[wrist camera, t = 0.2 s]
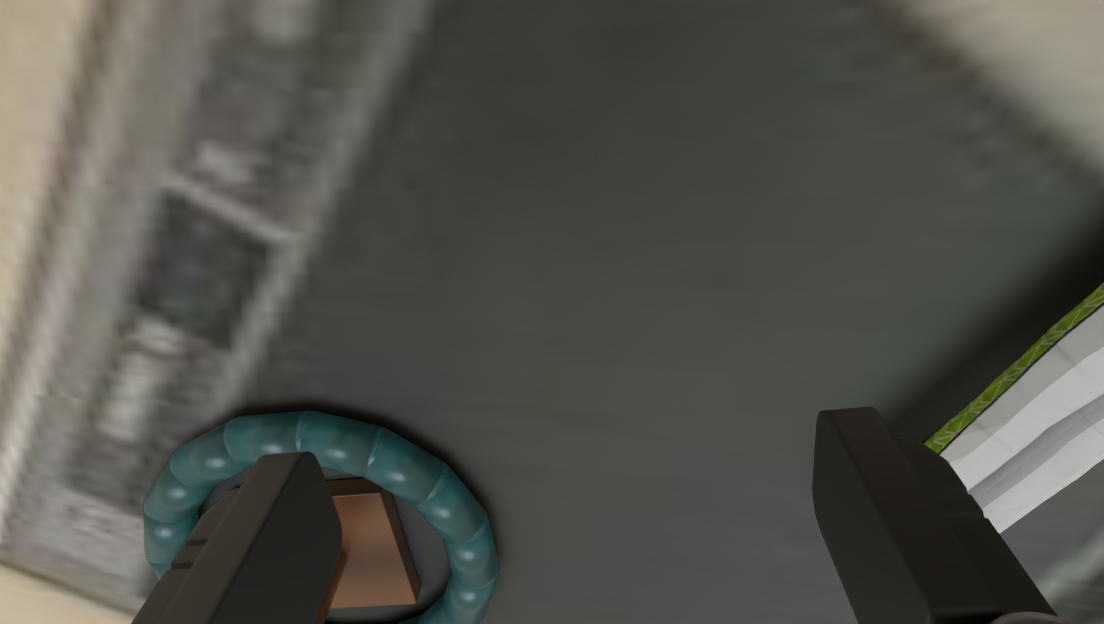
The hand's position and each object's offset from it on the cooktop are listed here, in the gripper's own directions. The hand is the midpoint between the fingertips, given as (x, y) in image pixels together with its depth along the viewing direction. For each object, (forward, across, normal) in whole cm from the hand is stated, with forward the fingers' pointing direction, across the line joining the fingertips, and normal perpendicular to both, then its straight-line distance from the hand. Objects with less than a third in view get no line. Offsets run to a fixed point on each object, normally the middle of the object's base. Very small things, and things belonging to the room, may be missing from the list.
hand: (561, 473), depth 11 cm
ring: (+16, +15, +19) cm, 29 cm away
